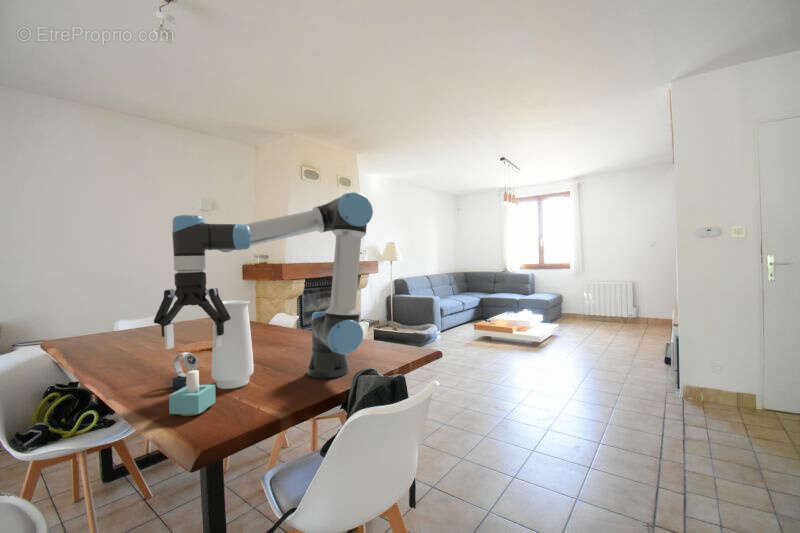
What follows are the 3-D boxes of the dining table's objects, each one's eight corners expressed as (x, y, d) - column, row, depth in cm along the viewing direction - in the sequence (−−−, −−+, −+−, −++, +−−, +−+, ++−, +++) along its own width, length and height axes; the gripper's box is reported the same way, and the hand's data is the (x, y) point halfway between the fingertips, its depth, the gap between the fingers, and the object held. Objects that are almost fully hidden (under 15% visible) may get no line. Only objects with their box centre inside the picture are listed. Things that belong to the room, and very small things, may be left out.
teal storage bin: (215, 401, 100) (215, 384, 100) (198, 413, 92) (198, 395, 92) (188, 402, 101) (188, 384, 101) (169, 414, 93) (169, 395, 93)
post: (211, 406, 100) (210, 368, 100) (197, 416, 93) (196, 375, 93) (189, 406, 100) (188, 368, 100) (174, 416, 93) (173, 375, 93)
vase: (257, 376, 126) (255, 299, 126) (249, 388, 114) (248, 303, 113) (218, 379, 124) (216, 300, 123) (206, 392, 111) (204, 305, 111)
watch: (188, 389, 114) (187, 355, 114) (168, 387, 116) (167, 354, 116) (201, 383, 120) (201, 351, 120) (182, 381, 122) (182, 350, 122)
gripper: (241, 269, 100) (244, 343, 100) (156, 272, 100) (159, 345, 101) (227, 270, 92) (230, 350, 93) (135, 273, 93) (139, 352, 93)
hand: (193, 347), depth 97 cm, fingers open, 13 cm apart
